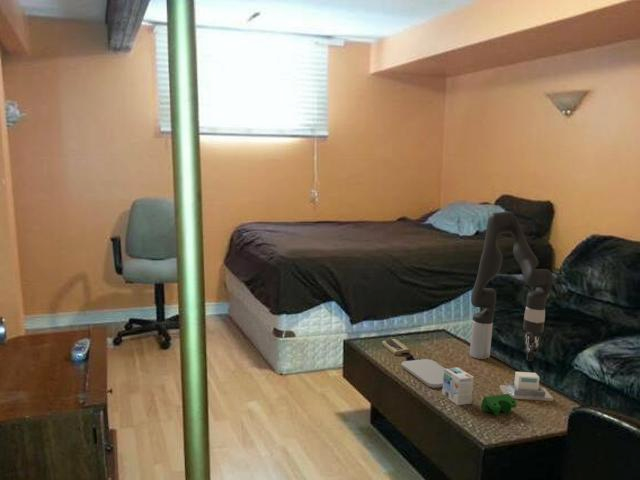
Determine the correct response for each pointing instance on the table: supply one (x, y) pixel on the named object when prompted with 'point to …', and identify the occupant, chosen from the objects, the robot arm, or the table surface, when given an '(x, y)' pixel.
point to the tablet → (426, 371)
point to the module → (526, 381)
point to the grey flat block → (526, 393)
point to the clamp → (498, 404)
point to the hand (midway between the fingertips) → (529, 360)
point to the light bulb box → (457, 386)
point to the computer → (396, 347)
